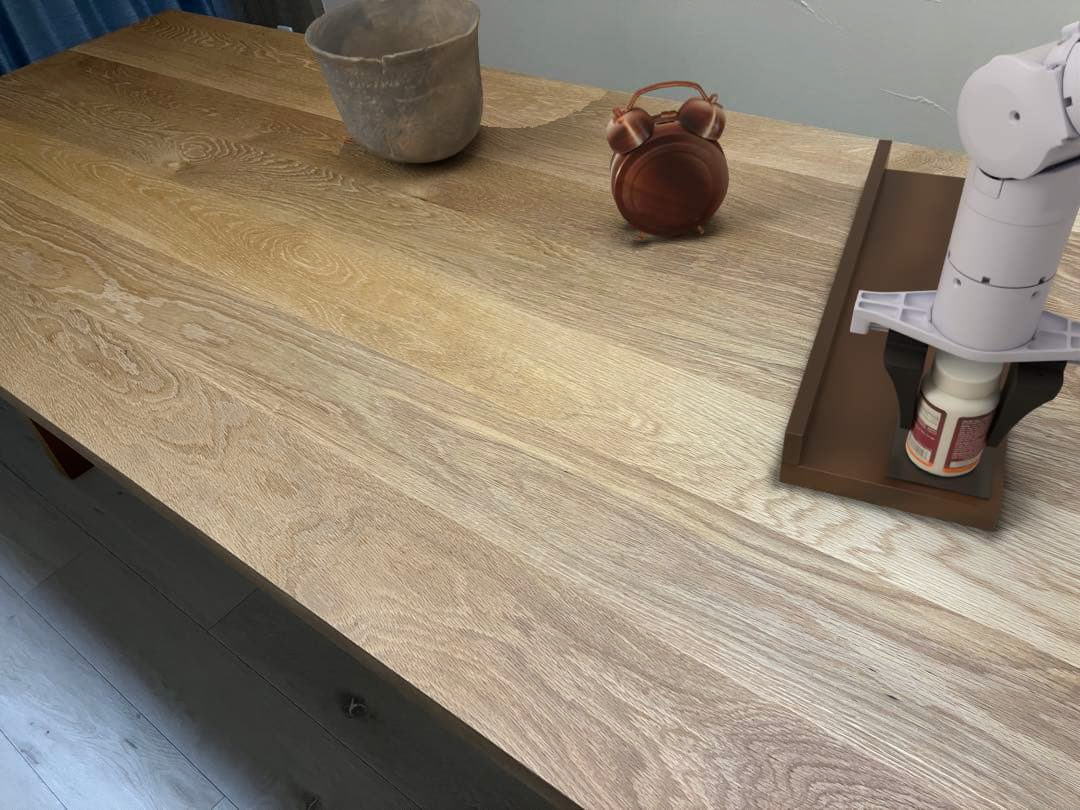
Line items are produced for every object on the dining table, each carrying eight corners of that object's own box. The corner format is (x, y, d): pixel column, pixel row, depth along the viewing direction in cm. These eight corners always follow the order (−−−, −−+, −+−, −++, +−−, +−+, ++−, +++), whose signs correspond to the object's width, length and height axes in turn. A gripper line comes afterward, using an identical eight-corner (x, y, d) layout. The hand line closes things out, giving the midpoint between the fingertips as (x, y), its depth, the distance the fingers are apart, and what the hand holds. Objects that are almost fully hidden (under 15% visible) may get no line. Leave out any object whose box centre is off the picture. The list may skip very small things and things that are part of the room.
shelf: (1025, 204, 86) (1041, 155, 83) (993, 532, 60) (1013, 481, 57) (871, 185, 91) (879, 138, 87) (778, 481, 65) (784, 432, 61)
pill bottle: (982, 437, 63) (1015, 344, 57) (974, 486, 60) (1007, 393, 54) (910, 420, 65) (934, 329, 59) (898, 468, 62) (923, 376, 56)
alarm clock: (717, 211, 90) (725, 63, 80) (728, 238, 87) (737, 87, 76) (607, 224, 90) (600, 77, 80) (613, 252, 87) (607, 102, 76)
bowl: (393, 212, 96) (360, 74, 85) (313, 156, 106) (275, 27, 96) (526, 148, 103) (510, 13, 92) (438, 102, 113) (416, -24, 103)
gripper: (1147, 238, 51) (1072, 410, 61) (877, 203, 56) (847, 367, 66) (1151, 313, 47) (1070, 487, 56) (858, 268, 52) (828, 435, 61)
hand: (949, 427), depth 61 cm, fingers closed on pill bottle, 5 cm apart
